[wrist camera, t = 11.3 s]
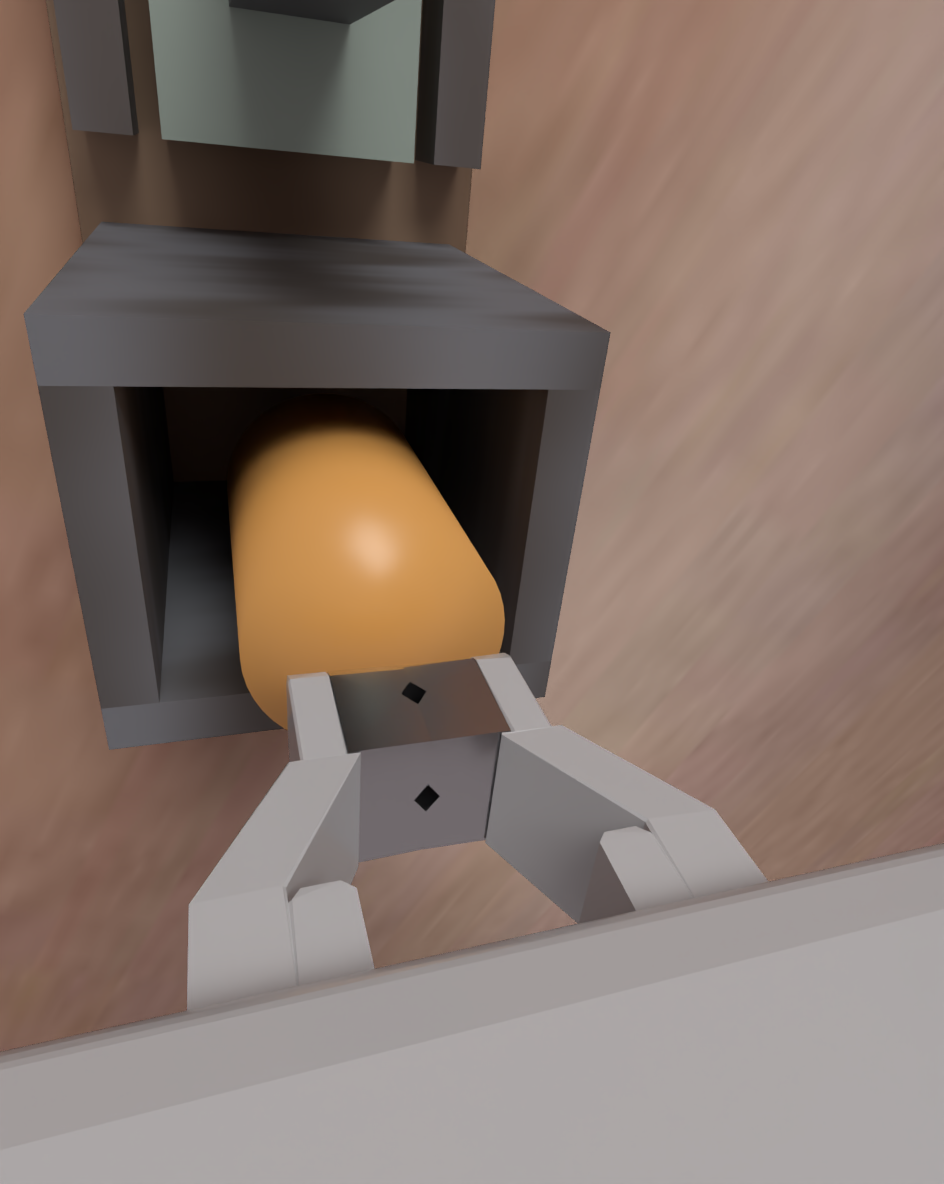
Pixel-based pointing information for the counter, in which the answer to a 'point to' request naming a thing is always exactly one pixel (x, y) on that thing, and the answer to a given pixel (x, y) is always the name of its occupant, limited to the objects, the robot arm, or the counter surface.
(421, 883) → the counter surface
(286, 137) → the carriage
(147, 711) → the rail
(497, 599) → the button
